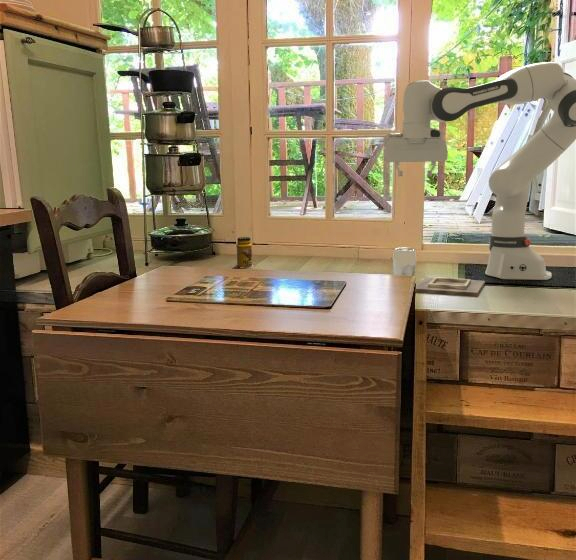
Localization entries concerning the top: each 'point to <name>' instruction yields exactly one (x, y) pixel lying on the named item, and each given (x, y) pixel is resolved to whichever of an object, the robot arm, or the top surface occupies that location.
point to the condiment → (244, 253)
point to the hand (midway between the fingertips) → (414, 176)
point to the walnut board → (450, 286)
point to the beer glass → (404, 261)
